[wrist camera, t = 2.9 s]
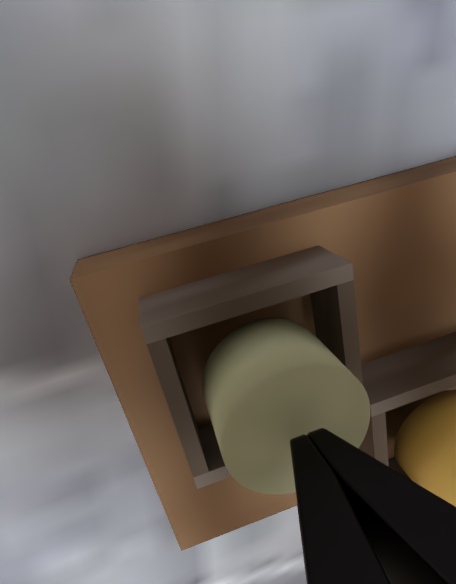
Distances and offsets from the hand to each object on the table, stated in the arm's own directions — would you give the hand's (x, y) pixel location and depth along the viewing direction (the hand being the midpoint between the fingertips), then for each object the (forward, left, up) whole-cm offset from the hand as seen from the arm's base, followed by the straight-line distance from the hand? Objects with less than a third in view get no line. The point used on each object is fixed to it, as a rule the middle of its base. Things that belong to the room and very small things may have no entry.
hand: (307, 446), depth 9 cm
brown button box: (-6, +2, -6) cm, 9 cm away
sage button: (0, 0, -3) cm, 3 cm away
